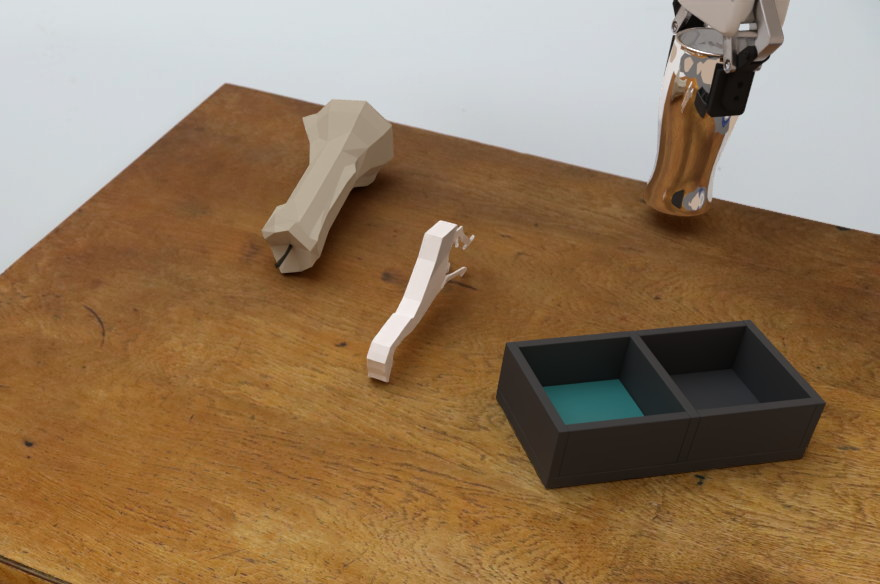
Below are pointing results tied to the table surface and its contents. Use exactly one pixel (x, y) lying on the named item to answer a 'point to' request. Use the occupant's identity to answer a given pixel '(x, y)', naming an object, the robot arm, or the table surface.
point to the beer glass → (689, 126)
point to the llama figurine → (417, 295)
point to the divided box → (655, 402)
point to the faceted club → (328, 179)
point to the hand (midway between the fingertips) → (702, 95)
